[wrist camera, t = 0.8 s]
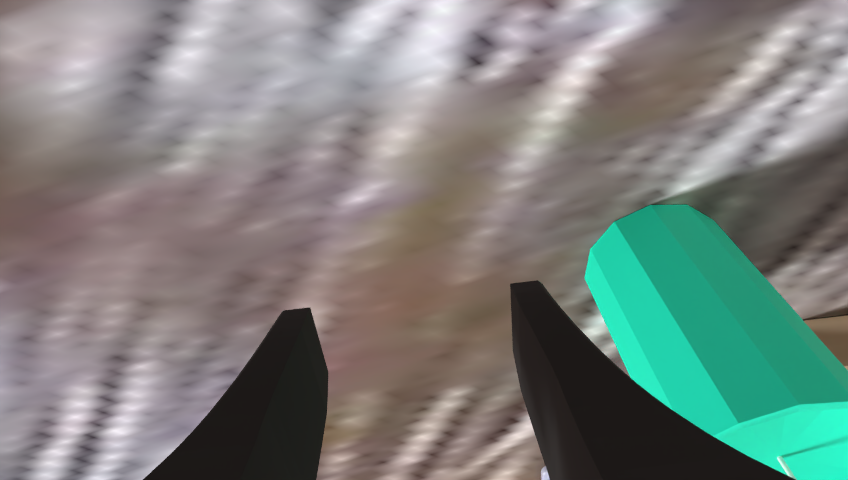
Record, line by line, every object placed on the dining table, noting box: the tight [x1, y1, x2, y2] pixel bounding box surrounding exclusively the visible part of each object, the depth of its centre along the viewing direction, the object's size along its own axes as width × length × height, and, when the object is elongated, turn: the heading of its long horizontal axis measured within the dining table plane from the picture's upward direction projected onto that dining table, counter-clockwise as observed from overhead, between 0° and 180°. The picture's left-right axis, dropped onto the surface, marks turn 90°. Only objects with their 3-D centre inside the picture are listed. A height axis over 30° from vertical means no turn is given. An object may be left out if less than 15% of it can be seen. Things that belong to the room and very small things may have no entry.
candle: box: [585, 204, 848, 480], centre depth 21 cm, size 6×6×12 cm
